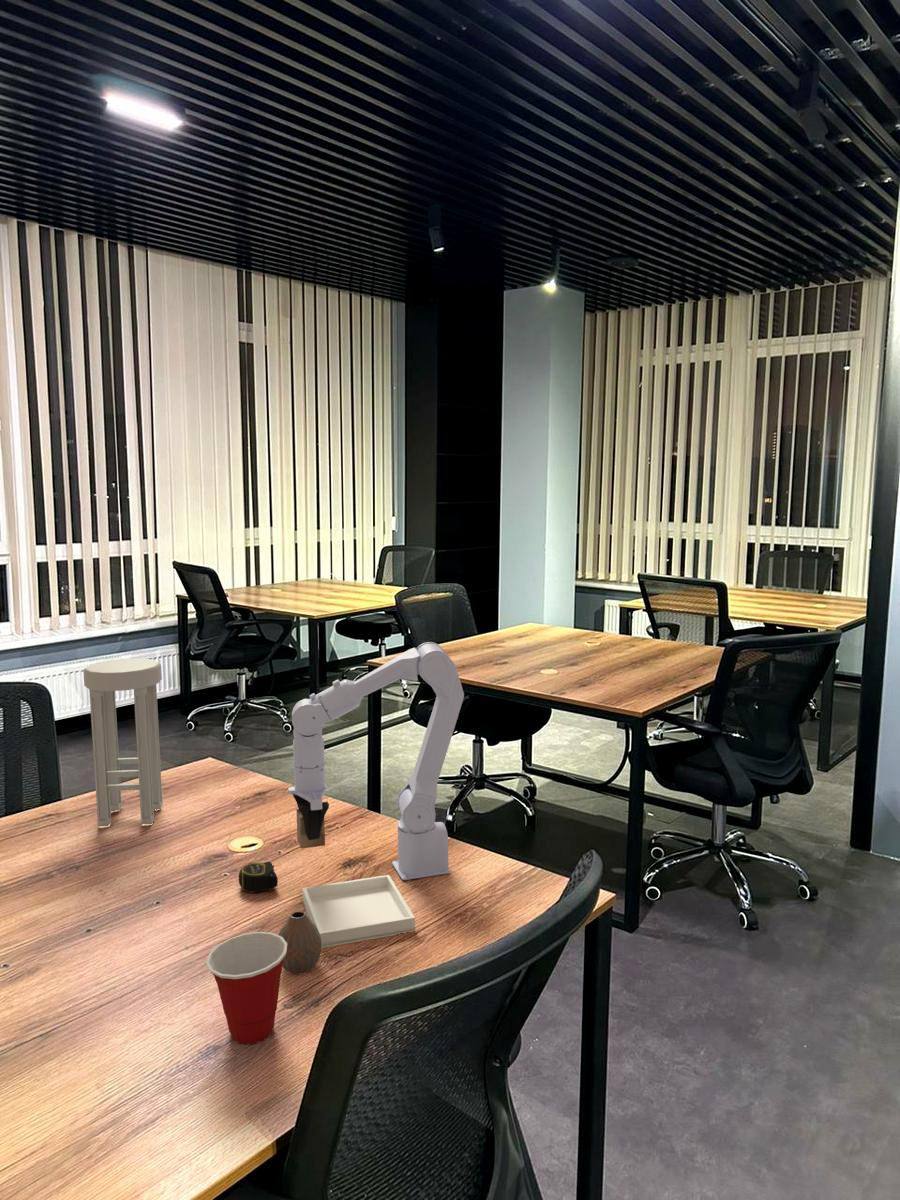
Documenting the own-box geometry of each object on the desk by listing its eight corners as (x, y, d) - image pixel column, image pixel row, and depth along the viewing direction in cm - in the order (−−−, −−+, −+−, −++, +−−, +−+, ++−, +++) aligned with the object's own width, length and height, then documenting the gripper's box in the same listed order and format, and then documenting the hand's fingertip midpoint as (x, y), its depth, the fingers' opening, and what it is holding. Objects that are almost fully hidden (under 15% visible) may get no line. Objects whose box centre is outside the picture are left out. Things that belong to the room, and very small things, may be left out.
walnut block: (320, 836, 170) (320, 806, 169) (325, 845, 165) (324, 814, 165) (297, 839, 168) (296, 809, 167) (301, 848, 164) (300, 817, 163)
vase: (329, 959, 139) (328, 907, 138) (309, 983, 133) (307, 928, 132) (290, 952, 142) (289, 900, 140) (268, 975, 135) (266, 921, 134)
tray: (389, 887, 164) (388, 874, 163) (415, 931, 148) (414, 917, 147) (302, 901, 159) (302, 887, 158) (320, 948, 143) (319, 933, 142)
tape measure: (278, 893, 162) (278, 873, 162) (240, 898, 160) (239, 879, 160) (274, 877, 169) (273, 858, 168) (237, 882, 167) (237, 863, 166)
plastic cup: (207, 1016, 125) (203, 937, 123) (284, 1002, 128) (282, 924, 126) (211, 1065, 114) (207, 978, 113) (295, 1048, 118) (292, 964, 116)
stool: (105, 806, 205) (96, 658, 200) (173, 803, 207) (166, 656, 202) (85, 832, 190) (74, 673, 185) (159, 829, 192) (150, 671, 187)
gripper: (282, 754, 170) (284, 822, 172) (293, 778, 157) (295, 851, 159) (318, 751, 173) (320, 817, 174) (332, 774, 159) (334, 846, 161)
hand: (311, 833), depth 167 cm, fingers closed on walnut block, 4 cm apart
